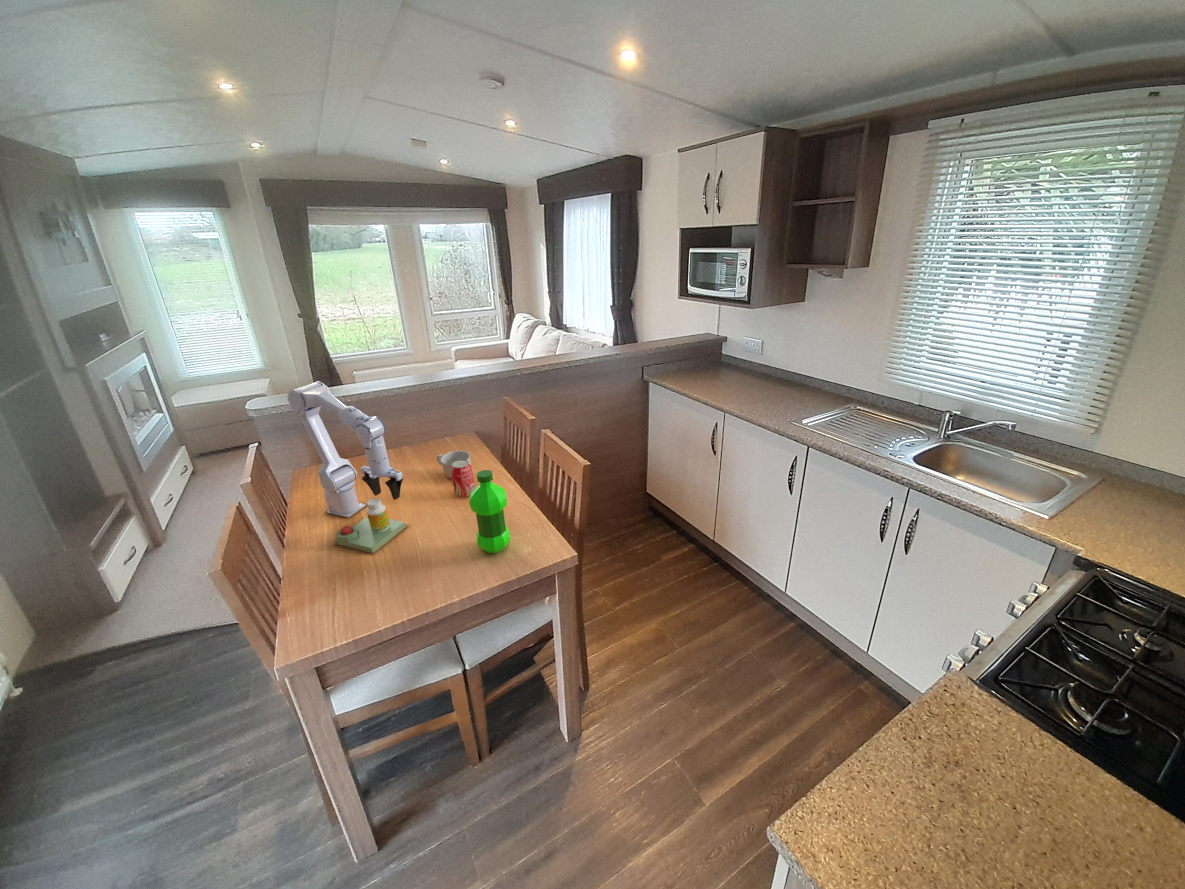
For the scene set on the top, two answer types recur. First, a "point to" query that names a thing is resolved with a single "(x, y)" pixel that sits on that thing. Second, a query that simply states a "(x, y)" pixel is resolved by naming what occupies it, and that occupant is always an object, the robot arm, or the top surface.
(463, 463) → the soda can
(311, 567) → the top surface
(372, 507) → the supplement bottle
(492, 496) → the plastic bottle
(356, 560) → the top surface
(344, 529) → the button
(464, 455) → the teacup
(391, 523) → the scale
